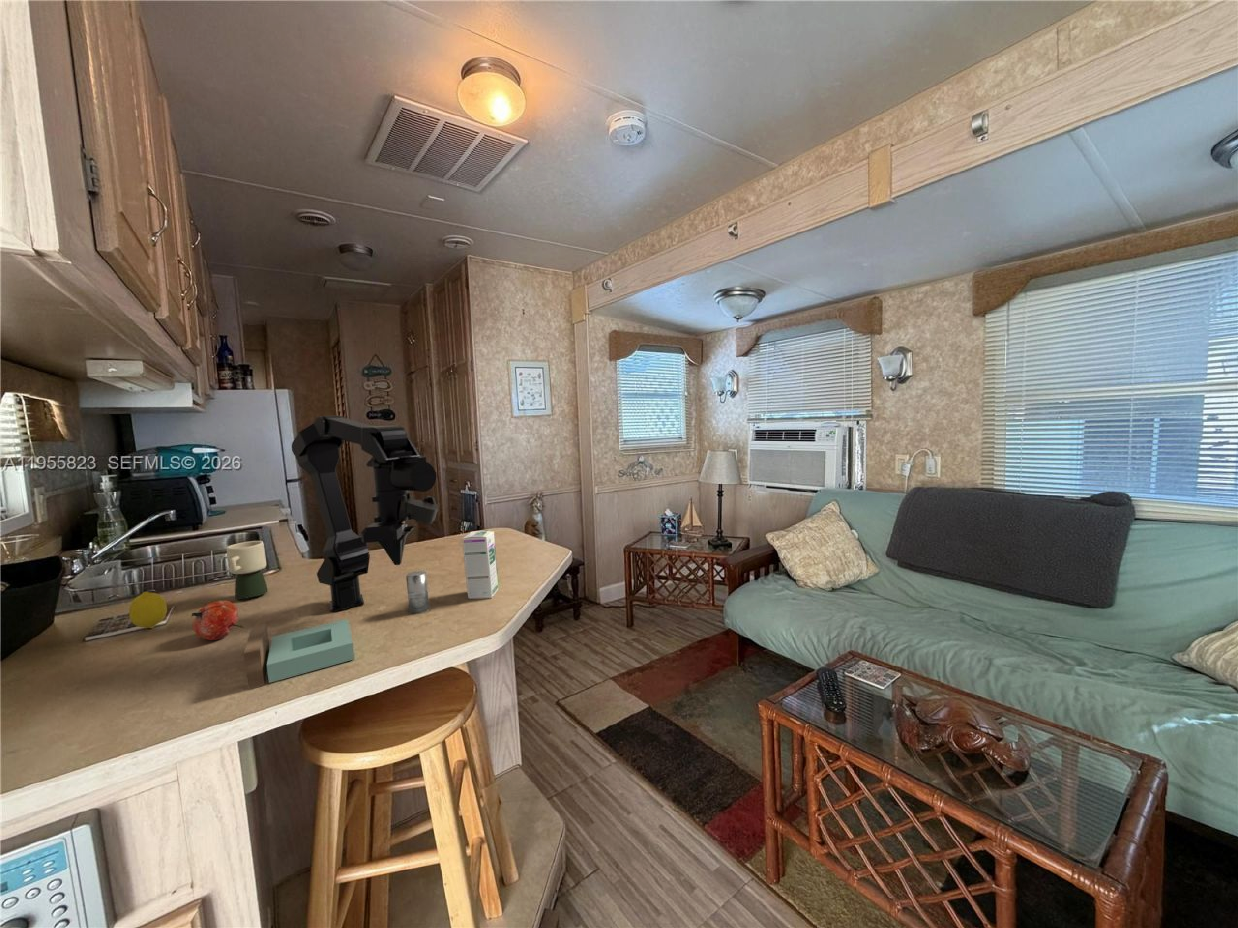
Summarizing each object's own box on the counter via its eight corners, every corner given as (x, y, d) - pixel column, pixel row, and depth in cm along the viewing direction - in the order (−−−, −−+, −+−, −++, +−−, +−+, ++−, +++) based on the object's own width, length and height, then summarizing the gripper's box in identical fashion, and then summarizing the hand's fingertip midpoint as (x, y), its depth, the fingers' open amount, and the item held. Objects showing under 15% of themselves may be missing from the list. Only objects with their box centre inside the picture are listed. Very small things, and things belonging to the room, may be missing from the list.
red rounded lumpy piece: (226, 637, 98) (171, 625, 91) (250, 604, 100) (198, 589, 93) (238, 650, 94) (181, 638, 86) (262, 615, 96) (209, 601, 89)
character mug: (249, 589, 119) (243, 539, 118) (280, 587, 120) (274, 537, 119) (220, 607, 109) (212, 552, 107) (254, 604, 110) (247, 549, 108)
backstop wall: (256, 658, 84) (252, 625, 83) (270, 654, 85) (266, 622, 84) (248, 689, 74) (243, 653, 73) (264, 685, 75) (259, 649, 74)
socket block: (274, 652, 85) (272, 636, 85) (350, 633, 92) (348, 618, 92) (268, 682, 75) (266, 665, 75) (354, 659, 82) (352, 642, 81)
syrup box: (492, 598, 107) (488, 536, 105) (466, 599, 107) (461, 537, 106) (499, 589, 113) (495, 529, 111) (474, 589, 113) (470, 530, 111)
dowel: (408, 609, 103) (404, 573, 102) (427, 604, 105) (424, 569, 104) (411, 615, 100) (407, 578, 99) (431, 610, 102) (427, 574, 101)
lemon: (175, 624, 100) (170, 588, 99) (142, 636, 95) (136, 598, 94) (159, 621, 102) (153, 585, 101) (125, 633, 97) (119, 595, 96)
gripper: (421, 494, 87) (428, 576, 88) (443, 480, 105) (448, 548, 107) (356, 498, 85) (364, 582, 87) (389, 483, 103) (396, 552, 105)
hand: (397, 564), depth 96 cm, fingers closed
